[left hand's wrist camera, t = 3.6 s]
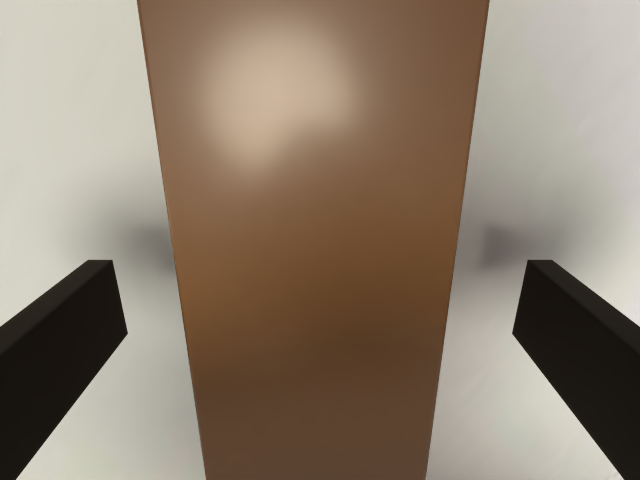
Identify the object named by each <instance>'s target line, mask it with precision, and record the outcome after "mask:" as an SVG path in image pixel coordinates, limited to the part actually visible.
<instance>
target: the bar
mask: <svg viewBox="0 0 640 480" xmlns="http://www.w3.org/2000/svg"><path fill="white" fill-rule="evenodd" d="M489 1H490V0H137V5H138V12H139V19H140V26H141V33H142V40H143V47H144V54H145V61H146V68H147V74H148V81H149V88H150V95H151V102H152V109H153V116H154V123H155V130H156V137H157V144H158V150H159V157H160V164H161V171H162V178H163V185H164V192H165V199H166V206H167V213H168V220H169V226H170V233H171V240H172V247H173V254H174V261H175V268H176V275H177V282H178V289H179V296H180V302H181V309H182V316H183V323H184V330H185V337H186V344H187V351H188V358H189V365H190V372H191V378H192V385H193V392H194V399H195V406H196V413H197V420H198V427H199V434H200V441H201V448H202V454H203V461H204V468H205V475H206V480H425V479H426V471H427V464H428V456H429V449H430V442H431V434H432V427H433V419H434V412H435V404H436V397H437V389H438V382H439V374H440V367H441V359H442V352H443V344H444V337H445V330H446V322H447V315H448V307H449V300H450V292H451V285H452V277H453V270H454V262H455V255H456V247H457V240H458V232H459V225H460V218H461V210H462V203H463V195H464V188H465V180H466V173H467V165H468V158H469V150H470V143H471V135H472V128H473V120H474V113H475V106H476V98H477V91H478V83H479V76H480V68H481V61H482V53H483V46H484V38H485V31H486V23H487V16H488V8H489Z"/></svg>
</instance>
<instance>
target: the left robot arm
mask: <svg viewBox="0 0 640 480" xmlns="http://www.w3.org/2000/svg"><path fill="white" fill-rule="evenodd" d="M127 334H128V332H127V327H126V323H125V318H124V313H123V308H122V304H121V299H120V294H119V289H118V285H117V280H116V275H115V270H114V266H113V261H112V260H87V261H86V262H85V263H83V264H82V265H81V266H79V267H78V268H77V269H76V270H74V271H73V272H72V273H70V274H69V275H68V276H66V277H65V278H64V279H62V280H61V281H60V282H58V283H57V284H56V285H55V286H53V287H52V288H51V289H49V290H48V291H47V292H45V293H44V294H43V295H41V296H40V297H39V298H38V299H36V300H35V301H34V302H32V303H31V304H30V305H28V306H27V307H26V308H24V309H23V310H22V311H20V312H19V313H18V314H17V315H15V316H14V317H13V318H11V319H10V320H9V321H7V322H6V323H5V324H3V325H2V326H1V327H0V480H16V479H17V477H18V476H19V475H20V473H21V472H22V471H23V470H24V468H25V467H26V466H27V464H28V463H29V462H30V460H31V459H32V458H33V456H34V455H35V454H36V453H37V451H38V450H39V449H40V447H41V446H42V445H43V443H44V442H45V441H46V440H47V438H48V437H49V436H50V434H51V433H52V432H53V430H54V429H55V428H56V427H57V425H58V424H59V423H60V421H61V420H62V419H63V417H64V416H65V415H66V413H67V412H68V411H69V410H70V408H71V407H72V406H73V404H74V403H75V402H76V400H77V399H78V398H79V397H80V395H81V394H82V393H83V391H84V390H85V389H86V387H87V386H88V385H89V383H90V382H91V381H92V380H93V378H94V377H95V376H96V374H97V373H98V372H99V370H100V369H101V368H102V367H103V365H104V364H105V363H106V361H107V360H108V359H109V357H110V356H111V355H112V354H113V352H114V351H115V350H116V348H117V347H118V346H119V344H120V343H121V342H122V340H123V339H124V338H125V337H126V335H127ZM512 334H513V335H514V337H515V338H516V339H517V340H518V342H519V343H520V344H521V346H522V347H523V348H524V350H525V351H526V352H527V354H528V355H529V356H530V357H531V359H532V360H533V361H534V363H535V364H536V365H537V367H538V368H539V369H540V370H541V372H542V373H543V374H544V376H545V377H546V378H547V380H548V381H549V382H550V383H551V385H552V386H553V387H554V389H555V390H556V391H557V393H558V394H559V395H560V397H561V398H562V399H563V400H564V402H565V403H566V404H567V406H568V407H569V408H570V410H571V411H572V412H573V413H574V415H575V416H576V417H577V419H578V420H579V421H580V423H581V424H582V425H583V427H584V428H585V429H586V430H587V432H588V433H589V434H590V436H591V437H592V438H593V440H594V441H595V442H596V443H597V445H598V446H599V447H600V449H601V450H602V451H603V453H604V454H605V455H606V456H607V458H608V459H609V460H610V462H611V463H612V464H613V466H614V467H615V468H616V470H617V471H618V472H619V473H620V475H621V476H622V477H623V479H624V480H640V327H639V326H638V325H637V324H635V323H634V322H633V321H631V320H630V319H629V318H627V317H626V316H625V315H623V314H622V313H621V312H620V311H618V310H617V309H616V308H614V307H613V306H612V305H610V304H609V303H608V302H606V301H605V300H604V299H602V298H601V297H600V296H599V295H597V294H596V293H595V292H593V291H592V290H591V289H589V288H588V287H587V286H585V285H584V284H583V283H582V282H580V281H579V280H578V279H576V278H575V277H574V276H572V275H571V274H570V273H568V272H567V271H566V270H564V269H563V268H562V267H561V266H559V265H558V264H557V263H555V262H554V261H553V260H528V261H527V266H526V270H525V275H524V280H523V285H522V289H521V294H520V299H519V304H518V308H517V313H516V318H515V323H514V327H513V332H512Z"/></svg>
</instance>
